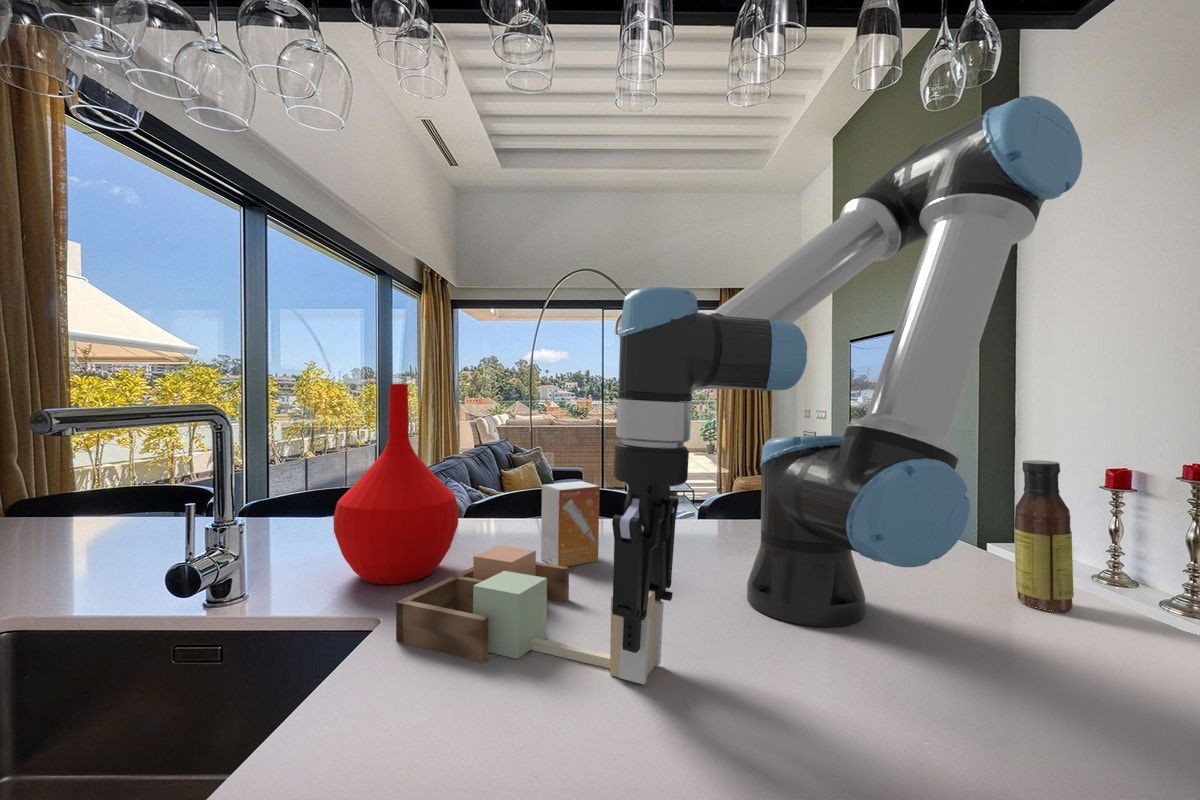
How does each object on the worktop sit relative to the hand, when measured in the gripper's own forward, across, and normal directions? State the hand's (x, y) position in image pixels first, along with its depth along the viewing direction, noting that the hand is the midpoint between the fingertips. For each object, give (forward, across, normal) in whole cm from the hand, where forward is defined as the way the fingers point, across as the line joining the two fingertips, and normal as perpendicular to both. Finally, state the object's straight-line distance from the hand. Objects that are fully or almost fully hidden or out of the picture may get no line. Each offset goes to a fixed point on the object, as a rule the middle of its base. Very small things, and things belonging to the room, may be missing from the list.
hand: (640, 669), depth 57 cm
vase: (+2, -12, -45) cm, 47 cm away
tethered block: (+1, 0, -9) cm, 9 cm away
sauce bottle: (-2, -42, +43) cm, 60 cm away
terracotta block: (+1, -10, -23) cm, 25 cm away
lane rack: (+1, -5, -22) cm, 23 cm away
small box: (+1, -31, -24) cm, 39 cm away
